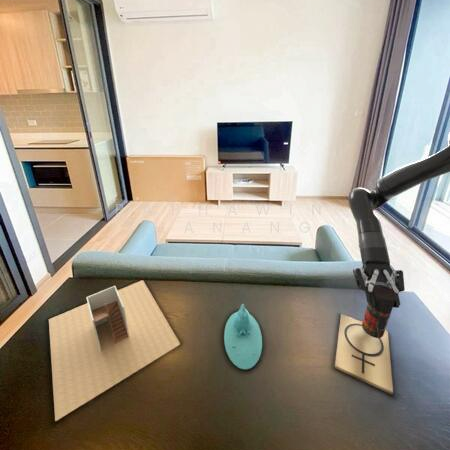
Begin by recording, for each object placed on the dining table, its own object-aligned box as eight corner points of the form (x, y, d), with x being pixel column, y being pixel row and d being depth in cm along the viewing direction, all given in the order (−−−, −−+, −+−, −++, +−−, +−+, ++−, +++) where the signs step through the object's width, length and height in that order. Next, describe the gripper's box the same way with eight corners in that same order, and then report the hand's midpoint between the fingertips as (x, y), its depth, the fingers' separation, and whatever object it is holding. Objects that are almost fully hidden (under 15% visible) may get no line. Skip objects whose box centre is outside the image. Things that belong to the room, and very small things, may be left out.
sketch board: (387, 333, 80) (388, 330, 80) (392, 394, 64) (393, 392, 63) (340, 316, 86) (341, 313, 86) (334, 367, 70) (335, 365, 69)
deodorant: (362, 318, 80) (372, 282, 75) (383, 326, 77) (395, 289, 72) (361, 332, 75) (372, 294, 70) (383, 341, 73) (396, 303, 67)
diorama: (223, 369, 69) (223, 348, 66) (224, 311, 88) (224, 292, 85) (266, 369, 69) (268, 348, 66) (258, 311, 88) (259, 292, 85)
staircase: (100, 352, 74) (89, 310, 68) (93, 326, 82) (83, 287, 76) (129, 336, 79) (122, 296, 73) (120, 313, 87) (113, 275, 81)
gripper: (355, 245, 74) (365, 306, 68) (403, 247, 74) (419, 308, 67) (344, 249, 81) (353, 305, 75) (389, 251, 80) (402, 307, 74)
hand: (384, 306), depth 71 cm, fingers closed on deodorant, 6 cm apart
